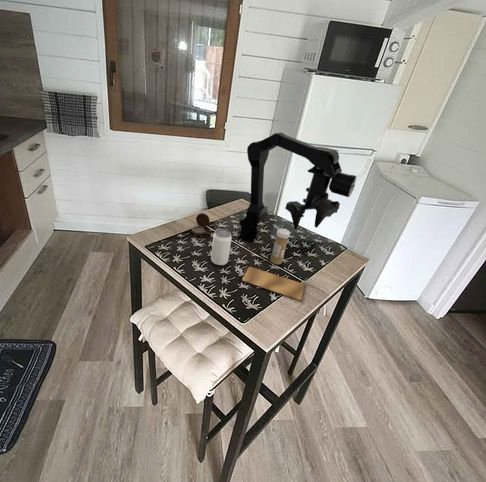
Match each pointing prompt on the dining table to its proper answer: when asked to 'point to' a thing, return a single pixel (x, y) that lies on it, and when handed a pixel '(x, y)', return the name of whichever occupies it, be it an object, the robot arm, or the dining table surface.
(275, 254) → the sprinkles bottle
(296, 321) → the dining table surface
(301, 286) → the front mat
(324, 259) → the dining table surface
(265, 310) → the dining table surface
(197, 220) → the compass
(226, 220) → the dining table surface
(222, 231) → the can
